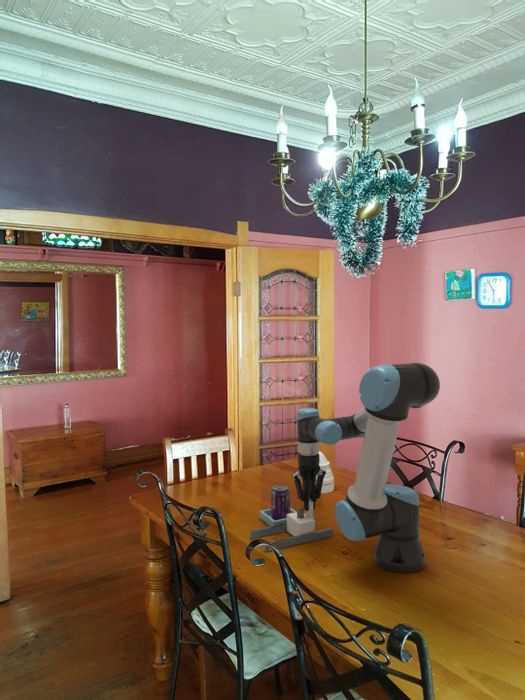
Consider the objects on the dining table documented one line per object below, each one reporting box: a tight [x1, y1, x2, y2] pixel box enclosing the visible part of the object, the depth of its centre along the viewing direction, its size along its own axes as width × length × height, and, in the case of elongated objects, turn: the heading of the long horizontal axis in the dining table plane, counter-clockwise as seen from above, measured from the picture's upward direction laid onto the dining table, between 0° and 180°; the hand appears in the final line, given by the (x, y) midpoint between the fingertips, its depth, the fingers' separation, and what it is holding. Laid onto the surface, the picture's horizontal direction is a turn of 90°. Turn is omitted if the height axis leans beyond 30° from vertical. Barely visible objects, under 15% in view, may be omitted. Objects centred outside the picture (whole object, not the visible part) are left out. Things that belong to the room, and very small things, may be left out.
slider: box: [286, 507, 316, 537], centre depth 178 cm, size 9×6×9 cm, turn 25°
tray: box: [259, 507, 297, 527], centre depth 191 cm, size 12×12×3 cm
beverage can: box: [270, 484, 291, 520], centre depth 191 cm, size 7×7×12 cm
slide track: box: [249, 516, 334, 553], centre depth 177 cm, size 12×26×2 cm, turn 115°
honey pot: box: [315, 451, 335, 494], centre depth 227 cm, size 13×13×18 cm
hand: (309, 518), depth 180 cm, fingers closed
